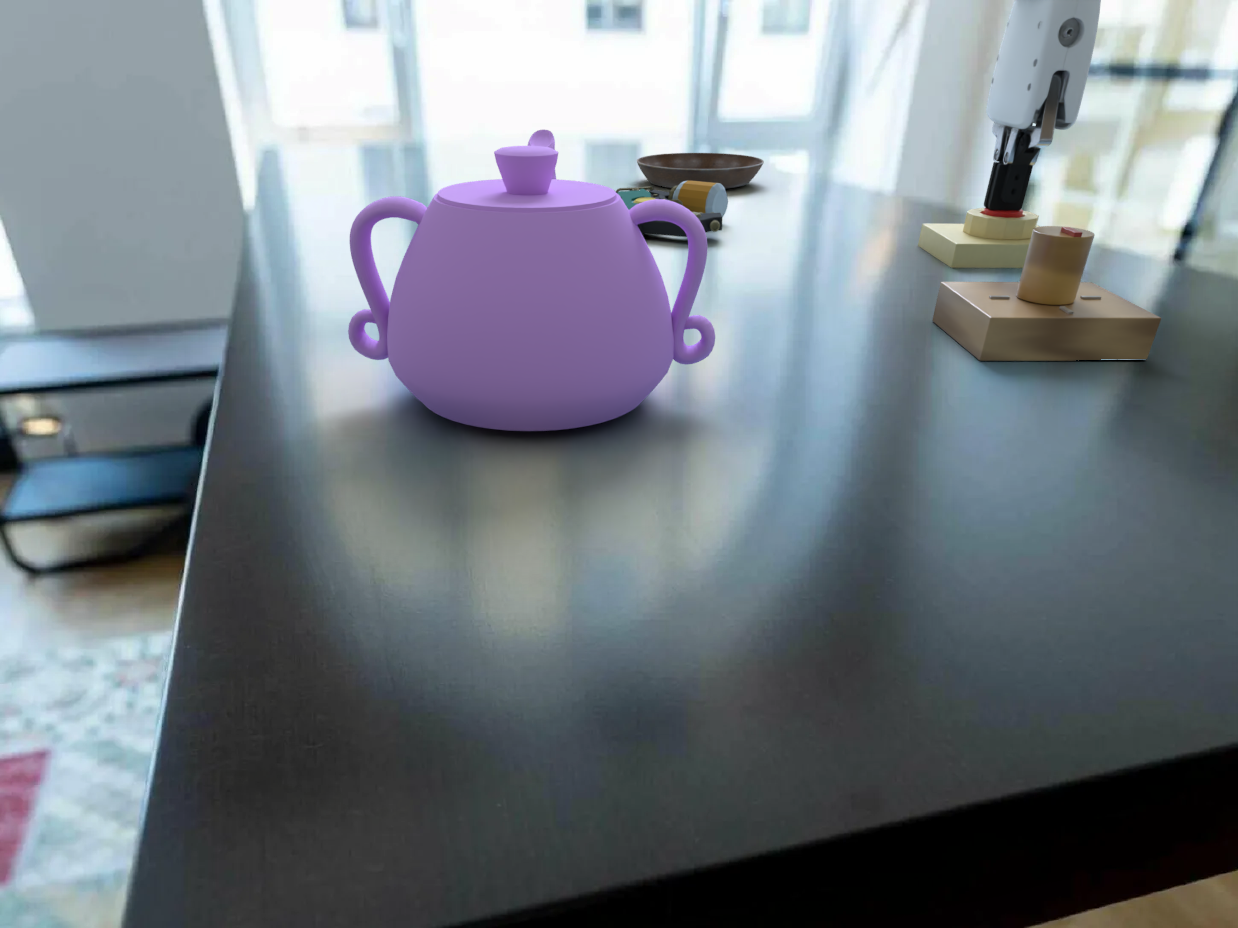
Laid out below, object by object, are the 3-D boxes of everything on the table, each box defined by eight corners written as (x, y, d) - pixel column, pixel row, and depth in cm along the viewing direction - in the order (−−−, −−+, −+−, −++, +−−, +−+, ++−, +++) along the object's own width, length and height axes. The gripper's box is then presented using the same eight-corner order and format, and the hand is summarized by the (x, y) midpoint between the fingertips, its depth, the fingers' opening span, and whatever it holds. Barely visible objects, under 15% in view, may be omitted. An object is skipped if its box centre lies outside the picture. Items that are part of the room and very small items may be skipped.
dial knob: (1006, 291, 68) (1024, 221, 65) (1058, 290, 68) (1078, 221, 65) (1030, 305, 64) (1050, 232, 62) (1085, 305, 65) (1107, 232, 62)
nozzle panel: (1080, 321, 72) (1092, 279, 70) (1146, 361, 64) (1163, 315, 62) (931, 321, 72) (940, 279, 70) (979, 361, 63) (991, 315, 62)
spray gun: (714, 254, 94) (577, 249, 97) (742, 215, 106) (620, 212, 110) (716, 210, 91) (574, 206, 95) (744, 175, 103) (619, 173, 107)
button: (1009, 225, 91) (1014, 206, 90) (1024, 232, 88) (1029, 212, 87) (974, 224, 91) (978, 205, 90) (988, 232, 88) (992, 212, 87)
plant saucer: (611, 184, 126) (611, 159, 124) (677, 170, 138) (678, 147, 136) (722, 198, 118) (724, 172, 116) (782, 182, 130) (785, 158, 128)
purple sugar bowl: (691, 337, 67) (706, 124, 59) (725, 454, 49) (753, 173, 42) (395, 334, 67) (371, 120, 59) (323, 450, 49) (274, 167, 41)
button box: (1029, 246, 95) (1040, 204, 93) (1073, 268, 87) (1087, 223, 85) (917, 245, 95) (925, 204, 93) (950, 268, 87) (961, 223, 84)
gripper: (1148, -25, 72) (1074, 224, 83) (1063, -20, 84) (1008, 196, 95) (1056, -27, 72) (994, 223, 82) (984, -22, 84) (938, 195, 95)
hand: (1002, 208), depth 89 cm, fingers closed
